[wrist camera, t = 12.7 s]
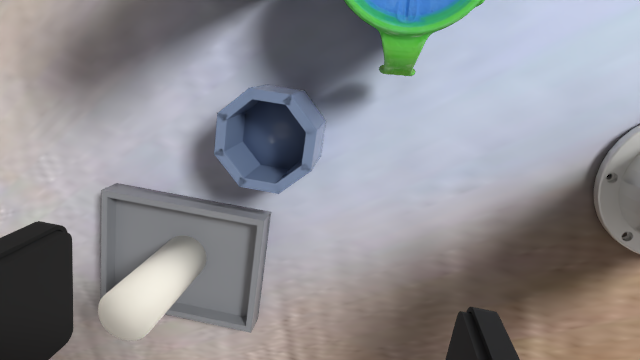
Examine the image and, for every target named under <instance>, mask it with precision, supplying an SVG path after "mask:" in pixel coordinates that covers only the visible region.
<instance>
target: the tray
mask: <svg viewBox="0 0 640 360" xmlns="http://www.w3.org/2000/svg"><path fill="white" fill-rule="evenodd" d="M270 216H271V212H268V211H263V210H257V209H252V208H247V207H241V206H236V205H231V204H225V203H220V202H215V201H209V200H204V199H198V198H193V197H188V196H182V195H177V194H172V193H166V192H161V191H156V190H150V189H145V188H140V187H134V186H129V185H124V184H118V183H116V184H114V185H112V186H109V187H107V188H105V189H103V190H101V298H102V297H103V296H104V295H105V294H106V293H107V292H109V291H110V290H111V289H112V288H113V287H115V286H116V285H117V284H118V283H119V282H121V281H122V280H123V279H124V278H125V277H127V276H128V275H129V274H130V273H131V272H133V271H134V270H135V269H136V268H137V267H139V266H140V265H141V264H142V263H143V262H144V261H146V260H147V259H148V258H149V257H150V256H152V255H153V254H154V253H155V252H156V251H158V250H159V249H160V248H161V247H162V246H164V245H165V244H166V243H167V242H168V241H170V240H171V239H172V238H174V237H177V236H189V237H192V238H194V239H196V240H197V241H198V242H199V243H200V244H201V245H202V246H203V248H204V250H205V252H206V264H205V267H204V268H203V270H202V271H201V272H200V273H199V275H198V276H197V277H196V278H195V279H194V280H193V282H192V283H191V284H190V285H189V286H188V287H187V289H186V290H185V291H184V292H183V293H182V294H181V296H180V297H179V298H178V299H177V300H176V301H175V303H174V304H173V305H172V306H171V307H170V308H169V310H168V311H167V312H166V313H165V314H166V315H171V316H175V317H180V318H185V319H189V320H194V321H199V322H203V323H208V324H213V325H218V326H222V327H227V328H232V329H236V330H241V331H246V332H250V333H251V332H252V330H253V328H254V326H255V324H256V321H257V319H258V314H259V306H260V297H261V289H262V281H263V273H264V265H265V257H266V249H267V240H268V232H269V224H270ZM100 300H101V299H100Z"/></svg>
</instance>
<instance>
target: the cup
mask: <svg viewBox="0 0 640 360" xmlns="http://www.w3.org/2000/svg"><path fill="white" fill-rule="evenodd" d="M325 124H326V120H325V119H324V117H323V116H322V114H321V113H320V112H319V110H318V109H317V107H316V106H315V105H314V103H313V102H312V101H311V99H310V98H309V96H308V95H307V94H306V92H305V91H304V90H298V89H291V88H285V87H279V86H273V85H263V86H257V87H251V88H249V89H247V90H246V91H245V92H244V93H242V94H241V95H240V96H239V97H237V98H236V99H235V100H234V101H232V102H231V103H230V104H229V105H227V106H226V107H225V108H224V109H222V110H221V111H220V112H219V113H217V125H216V138H215V150H214V155H215V156H216V157H217V158H218V160H219V161H220V162H221V164H222V165H223V166H224V167H225V169H226V170H227V171H228V173H229V174H230V175H231V176H232V178H233V179H234V180H235V182H236V183H237V184H238V186H239V187H244V188H250V189H255V190H261V191H266V192H272V193H277V194H279V193H281V192H282V191H283V190H285V189H286V188H288V187H289V186H291V185H292V184H293V183H295V182H296V181H298V180H299V179H301V178H302V177H303V176H305V175H306V174H308V173H309V172H311V171H312V169H313V168H314V166H315V165H316V163H317V161H318V160H319V158H320V157H321V151H322V144H323V138H324V131H325Z"/></svg>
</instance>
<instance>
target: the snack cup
mask: <svg viewBox="0 0 640 360" xmlns="http://www.w3.org/2000/svg"><path fill="white" fill-rule="evenodd" d="M344 1H345V2H346V4H347V5H348V6H349V8H350V9H351V10H352V11H353V12H354V13H355V14H356V15H357V16H359V17H360V18H361V19H362V20H363V21H365V22H366V23H368V24H369V25H371V26H373V27H375V28H376V29H377V30H378V31H379V33H380V35H381V39H382V46H383V52H384V65H381V66H380V67H379V70H380V72H381V73H383V74H394V75H404V76H412V75H414V74H415V70H414V69H413V67H414V65H415V63H416V60H417V58H418V56H419V54H420V52H421V50H422V48H423V46H424V44H425V42H426V40H427V38H428V37H429V36H430V35H431V34H432V33H434V32H436V31H438V30H441V29H443V28H446V27H448V26H450V25H452V24H453V23H455V22H457V21H458V20H460V19H462V18H463V17H464V16H466V15H467V14H468V13H469V12H470V11H471V10H472V9H473V8H475V7H477V6H479V5H481V4H482V3H483V2H484V1H485V0H344Z"/></svg>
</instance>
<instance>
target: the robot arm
mask: <svg viewBox="0 0 640 360" xmlns="http://www.w3.org/2000/svg"><path fill="white" fill-rule="evenodd" d="M608 174H609V177H608V178H606V177H607V176H608ZM594 205H595V209H596V213H597V216H598V218H599V220H600V222H601V224H602V226H603V227H604V229H605V230H606V231H607V232H608V233H609V234H610V235H611V237H612V238H614V239H615V240H616V241H618V242H619V243H620V244H621V245H623V246H625V247H626V248H628V249H629V250H631V251H633V252H635V253H638V254H640V125H639V126H637V127H635V128H634V129H632V130H631V131H629V132H628V133H627V134H626V135H624V136H623V137H622V138H621V139H619V141H618V142H617V143H616V144H615V145H614V146H613V147H612V148H611V149H610V151H609V152H608V153H607V155H606V157H605V158H604V160H603V162H602V163H601V165H600V168H599V170H598V173H597V176H596V179H595V185H594ZM623 233H624V234H623ZM72 332H73V274H72V237H71V235H70V234H69V233H67V230H66V228H65V227H63V226H60V225H55V224H50V223H45V222H40V221H38V222H35V223H32V224H30V225H28V226H26V227H24V228H21V229H19V230H17V231H15V232H13V233H10V234H8V235H6V236H4V237H2V238H0V360H49V359H50V358H51V357H52V356H53V355H54V354H55V353H56V352H58V351H59V350H60V349H61V348H62V347H63V346H64V345H65V344H66V343H67V342H68V341H69V339H70V337H71V335H72ZM446 360H520V359H519V357H518V355H517V353H516V351H515V349H514V347H513V344H512V342H511V340H510V338H509V336H508V334H507V332H506V330H505V328H504V326H503V323H502V321H501V319H500V317H499V315H498V314H497V312H494V311H489V310H484V309H479V308H474V307H469V308H468V310H467V312H461V311H460V312H459V313H458V315H457V319H456V322H455V326H454V330H453V334H452V337H451V341H450V345H449V349H448V352H447V356H446Z"/></svg>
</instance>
